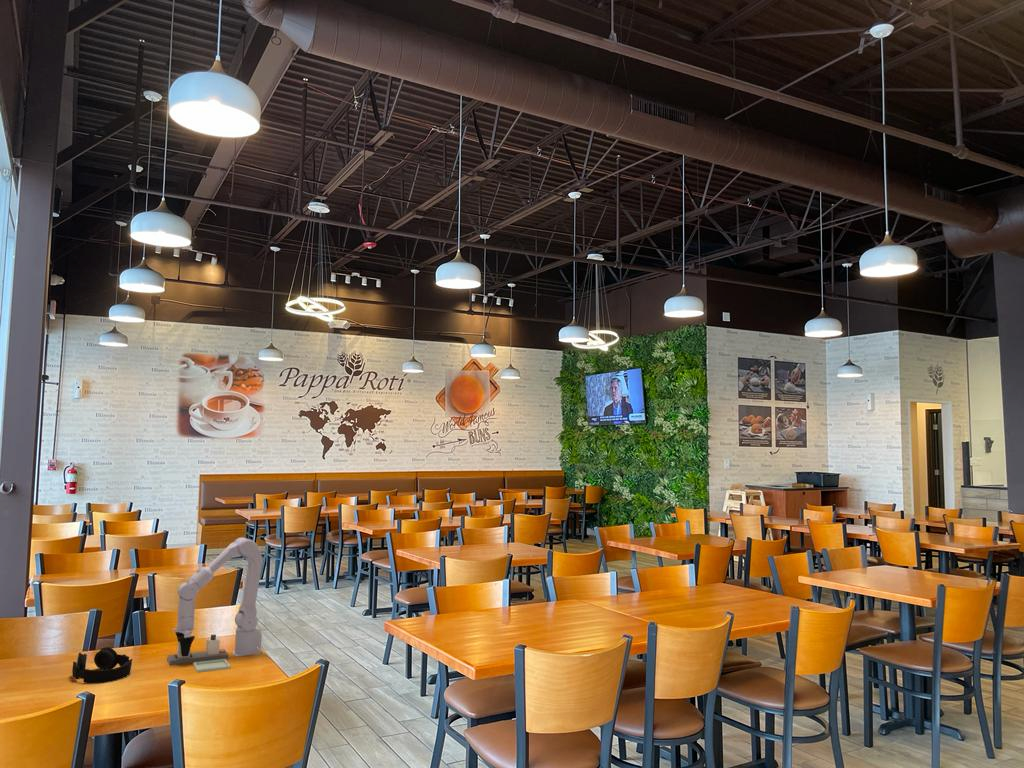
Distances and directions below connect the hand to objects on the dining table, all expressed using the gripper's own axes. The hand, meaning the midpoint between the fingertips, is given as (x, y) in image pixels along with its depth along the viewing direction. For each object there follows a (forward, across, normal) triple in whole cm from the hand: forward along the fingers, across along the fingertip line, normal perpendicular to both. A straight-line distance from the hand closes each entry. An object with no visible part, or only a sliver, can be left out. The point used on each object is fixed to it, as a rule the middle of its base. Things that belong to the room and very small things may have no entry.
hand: (183, 653), depth 274 cm
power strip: (+3, 0, +5) cm, 6 cm away
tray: (+3, +13, +8) cm, 16 cm away
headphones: (+3, +6, -27) cm, 28 cm away
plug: (+3, 0, 0) cm, 3 cm away
